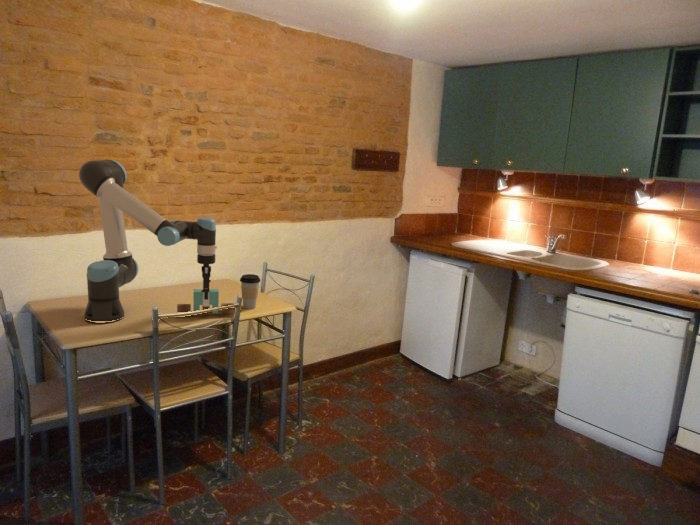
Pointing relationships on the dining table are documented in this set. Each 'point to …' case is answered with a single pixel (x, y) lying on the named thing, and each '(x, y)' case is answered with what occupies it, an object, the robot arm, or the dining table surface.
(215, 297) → the clip
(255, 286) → the coffee cup
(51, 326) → the dining table surface
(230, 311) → the rail
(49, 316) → the dining table surface
